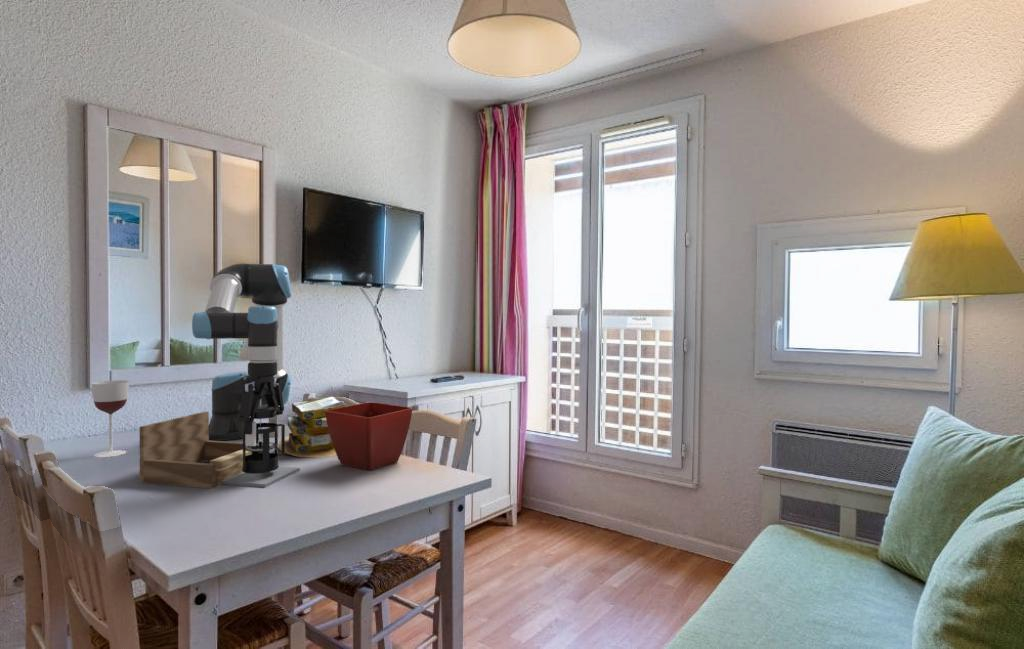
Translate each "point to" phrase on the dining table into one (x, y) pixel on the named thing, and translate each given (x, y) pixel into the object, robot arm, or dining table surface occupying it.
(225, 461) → the offcut stack
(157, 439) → the wooden box
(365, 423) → the plant pot
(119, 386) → the wineglass
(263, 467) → the french press
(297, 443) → the stacked boxes on plate
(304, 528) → the dining table surface
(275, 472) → the slate mat
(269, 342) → the robot arm
